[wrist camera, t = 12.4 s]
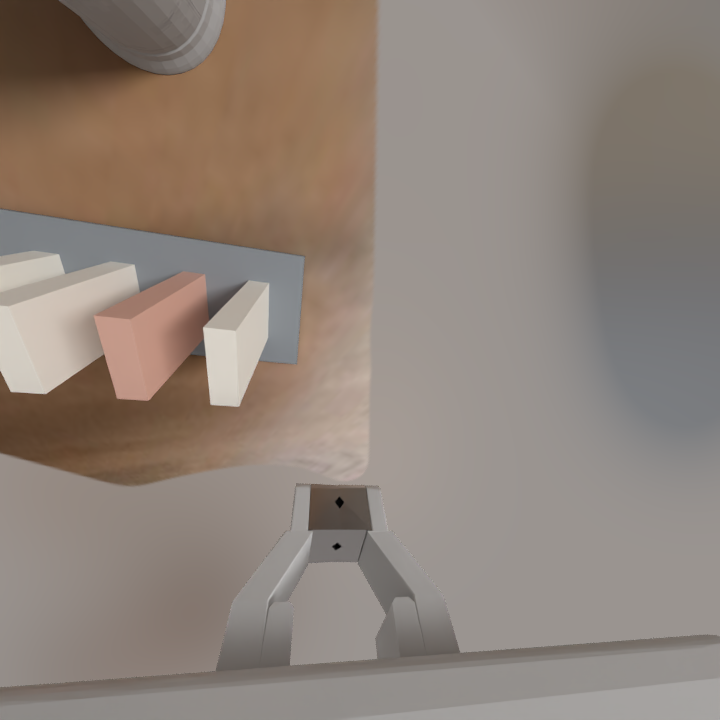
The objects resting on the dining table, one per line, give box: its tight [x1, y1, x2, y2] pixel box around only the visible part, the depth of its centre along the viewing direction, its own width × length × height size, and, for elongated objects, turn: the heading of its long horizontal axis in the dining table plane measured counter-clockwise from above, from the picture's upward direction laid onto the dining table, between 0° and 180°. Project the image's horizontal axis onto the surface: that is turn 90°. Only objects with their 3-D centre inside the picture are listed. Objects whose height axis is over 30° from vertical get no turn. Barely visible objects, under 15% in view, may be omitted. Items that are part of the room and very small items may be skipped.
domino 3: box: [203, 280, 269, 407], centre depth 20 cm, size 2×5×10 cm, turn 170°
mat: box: [0, 209, 305, 364], centre depth 23 cm, size 27×10×1 cm, turn 80°
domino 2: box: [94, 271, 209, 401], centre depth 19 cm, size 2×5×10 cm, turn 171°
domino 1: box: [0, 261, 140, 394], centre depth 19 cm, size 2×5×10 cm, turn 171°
